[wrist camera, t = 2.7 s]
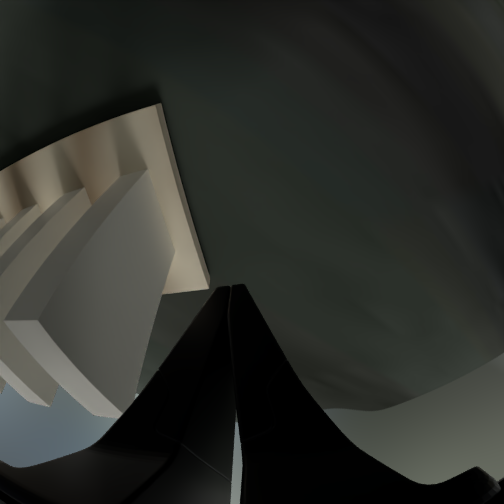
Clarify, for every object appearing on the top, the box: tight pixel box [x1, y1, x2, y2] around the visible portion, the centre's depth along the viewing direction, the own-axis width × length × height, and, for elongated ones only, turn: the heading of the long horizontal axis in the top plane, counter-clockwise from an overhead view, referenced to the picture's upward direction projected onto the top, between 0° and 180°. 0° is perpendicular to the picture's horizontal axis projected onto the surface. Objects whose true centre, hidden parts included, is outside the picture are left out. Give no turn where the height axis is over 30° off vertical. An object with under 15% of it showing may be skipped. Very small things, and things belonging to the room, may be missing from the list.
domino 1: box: [0, 204, 42, 394], centre depth 11 cm, size 2×5×10 cm, turn 9°
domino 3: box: [3, 169, 175, 419], centre depth 11 cm, size 2×5×10 cm, turn 9°
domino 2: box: [0, 187, 92, 407], centre depth 11 cm, size 2×5×10 cm, turn 9°
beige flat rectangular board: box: [0, 103, 210, 294], centre depth 16 cm, size 22×11×1 cm, turn 99°
